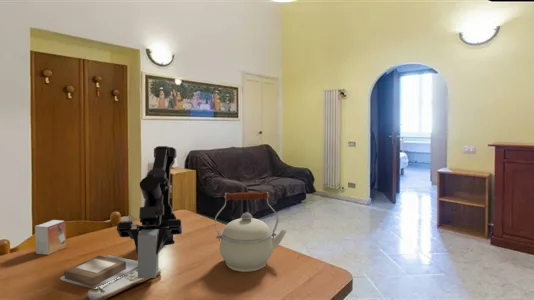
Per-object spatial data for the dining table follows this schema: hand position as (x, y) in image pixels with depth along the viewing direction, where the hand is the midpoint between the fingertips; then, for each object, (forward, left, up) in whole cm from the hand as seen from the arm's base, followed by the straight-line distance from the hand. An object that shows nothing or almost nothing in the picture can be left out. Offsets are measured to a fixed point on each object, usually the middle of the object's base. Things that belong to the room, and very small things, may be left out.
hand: (147, 254), depth 94 cm
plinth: (+10, -16, -9) cm, 21 cm away
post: (0, -1, -7) cm, 7 cm away
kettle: (-34, +4, -9) cm, 35 cm away
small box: (+24, -45, -9) cm, 52 cm away
